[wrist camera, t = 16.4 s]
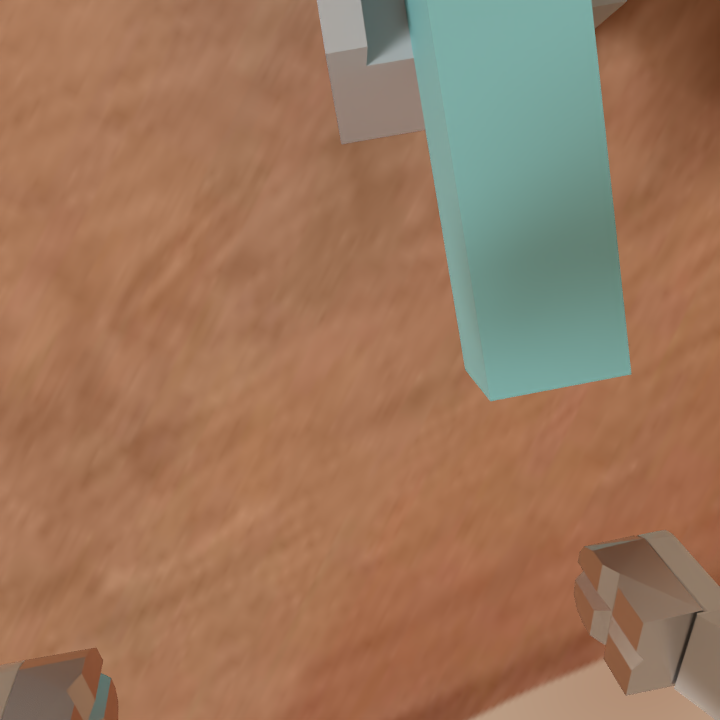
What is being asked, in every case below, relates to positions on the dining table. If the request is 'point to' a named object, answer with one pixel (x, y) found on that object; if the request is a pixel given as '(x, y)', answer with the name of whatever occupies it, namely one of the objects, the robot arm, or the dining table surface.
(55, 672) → the robot arm
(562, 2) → the teal square bar
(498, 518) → the dining table surface
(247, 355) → the dining table surface
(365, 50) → the grey boxy piece
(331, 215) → the dining table surface
